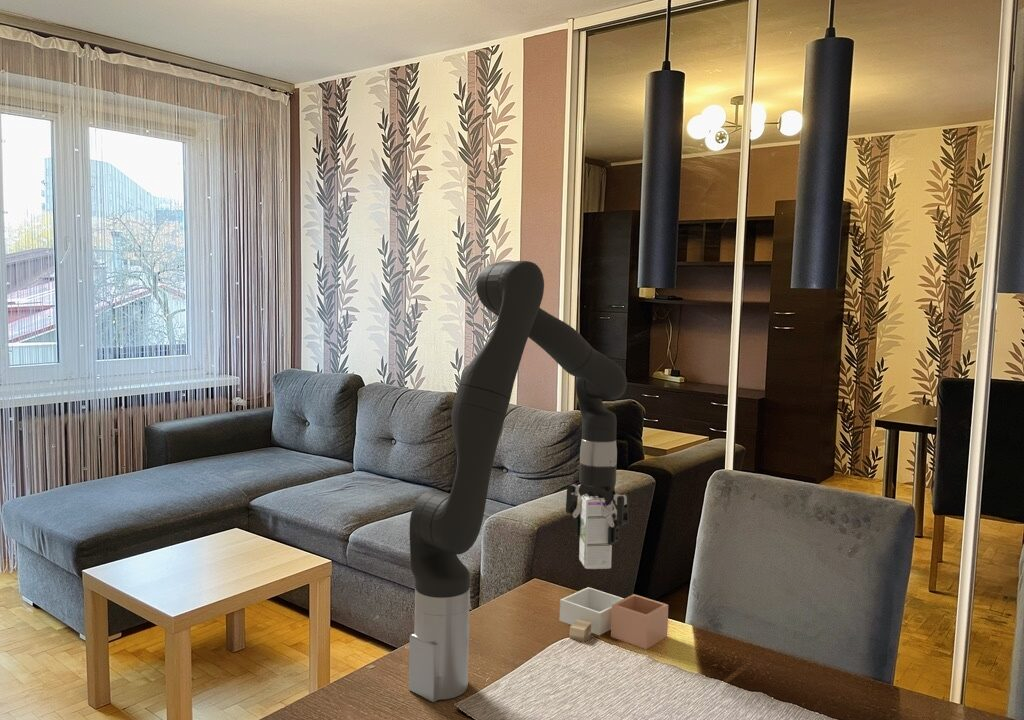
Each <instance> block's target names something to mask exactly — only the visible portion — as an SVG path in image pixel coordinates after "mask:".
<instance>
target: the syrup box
mask: <svg viewBox="0 0 1024 720" xmlns="http://www.w3.org/2000/svg"><path fill="white" fill-rule="evenodd" d="M583 496H584V495H583ZM583 496H582V497H583ZM582 497H581V496H580V501H581V500H582V510H581V513H580V536H579V545H578V547H579V549H578V560H579V562H580V563H581V565H582V567H583V568H584V569H587V570H598V569H599V570H603V569H604V570H607V569H612V556H613V555H612V554H613V549H612V548H613V545H609V544H608V527H609V526H610V525H609V523H608V521H607V519H606V518H605V517H604V516H603V514H602V512H601V507H602V506H601V503H600V500H601V501H602V502H603V503H604V504H605V500H604V499H605V498H594V497H595V496H590V497H583V498H582ZM599 499H600V500H599ZM613 504H614V502H613V500H612V501H611V503H610V504H609V505H608V506H606V505H605V506H606V508H607V510H608V511H613Z"/></svg>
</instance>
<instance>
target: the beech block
mask: <svg viewBox="0 0 1024 720" xmlns="http://www.w3.org/2000/svg"><path fill="white" fill-rule="evenodd" d="M591 635H592V632H591V623H590V622H585V621H581V620H576V621H575V622H574V623H573V624H572V625H570V626H569V639H571V640H574V639H576V640H575V641H578V640H580V641H579V642H583V641H584V642H585V641H586V640H587V639H588V638H589V637H590V636H591Z"/></svg>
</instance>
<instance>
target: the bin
mask: <svg viewBox="0 0 1024 720" xmlns="http://www.w3.org/2000/svg"><path fill="white" fill-rule="evenodd" d="M623 599H625V598H623V597H620V596H618V595H614V594H611V593H608V592H604V591H602V590H598V589H595V588H592V587H591V586H590V587H589V586H588V587H586V588H583V589H580V590H578V591H576V592H575V593H572V594H570V595H568V596H566V597H565V596H564V597H563V598H561V599H559V618H558V619H559V622H562V623H563V624H564V623H565V624H568V625H570V626H571V625H572V624H573V623H574V622H575V621H576V620H581V621H585V622H590V623H591V634H595V635H598V636H601V635H602V634H604V633H607V632H609V631H611V616H612V605H613V604H615V603H617V602H619V601H621V600H623Z"/></svg>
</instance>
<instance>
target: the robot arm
mask: <svg viewBox="0 0 1024 720" xmlns="http://www.w3.org/2000/svg"><path fill="white" fill-rule="evenodd" d="M475 289H476V294H477V297H478V299H479V301H480V302H481V304H482V305H483V306H484V307H485V308H486V309H487V310H488V311H489V312H491V313H492V314H494V315H496V316H497V320H496V321H495V326H494V328H493V330H492V332H491V334H490V335H489V337H488V339H487V341H486V342H485V344H484V345H483V346H482V348H481V349H480V350H479V351H478V352H477V354H476V355H475V356H474V357H473V359H472V360H471V362H469V364H468V366H466V368H465V370H464V372H463V373H462V376H461V377H460V381H459V383H458V387H457V390H456V394H455V397H454V401H453V403H452V404H453V405H452V408H451V427H452V428H451V429H452V434H453V439H454V446H455V452H456V467H455V468H456V470H455V475H454V479H453V483H452V487H451V491H450V493H448V492H446V491H441V490H428V491H426V492H424V493H423V494H421V495H420V496H419V497H418V498H417V500H416V501H415V503H414V505H413V507H412V510H411V513H410V517H409V554H410V555H409V557H410V571H411V573H412V576H413V578H414V625H413V626H414V627H413V628H414V630H413V633H412V634H411V633H410V635H409V653H408V655H409V656H408V657H409V658H408V666H409V667H408V670H409V671H408V690H409V691H411V692H413V693H414V694H417V695H419V696H420V697H422V698H424V699H426V700H428V701H429V702H432V703H435V702H437V701H441V700H450V699H454V698H457V697H459V696H461V695H463V694H464V693H466V691H467V689H468V685H469V683H468V682H469V647H470V646H469V645H470V644H469V641H470V639H469V638H470V601H471V600H470V599H471V598H470V597H471V596H470V595H471V594H470V593H471V592H470V591H471V575H470V571H469V569H468V568H467V567H466V566H465V564H464V563H463V562H462V561H461V560H460V558H459V557H458V555H462V554H465V553H467V552H468V551H470V549H471V548H473V546H474V544H475V543H476V541H477V539H478V536H479V534H480V531H481V529H482V525H483V522H484V521H483V520H484V515H485V508H486V504H487V499H488V498H487V497H488V492H489V486H490V480H491V475H492V469H493V465H494V461H495V458H496V453H497V448H498V444H499V440H500V436H501V434H502V429H503V426H504V423H505V420H506V417H507V414H508V413H507V412H508V409H509V406H510V402H511V401H510V400H511V397H512V393H513V388H514V385H515V380H516V378H517V374H518V372H519V371H518V370H519V366H520V364H521V361H522V357H523V353H524V350H525V347H526V344H527V341H528V339H530V340H531V341H532V342H534V343H535V344H536V345H537V346H539V347H540V348H541V349H542V350H544V351H545V352H546V353H547V354H548V356H550V357H551V358H552V359H553V360H554V361H555V362H556V363H557V364H558V366H560V367H561V368H562V369H563V370H564V371H565V372H566V373H568V374H569V375H571V376H572V377H575V380H574V381H575V382H574V384H575V392H576V397H577V401H578V406H579V411H580V415H581V419H582V422H581V443H580V448H579V473H578V477H579V478H578V481H579V484H580V485H578V483H574V484H573V483H572V484H569V485H567V486H566V499H565V500H566V502H565V512H566V514H570V515H571V516H572V517H573V532H574V535H575V536H577V537H580V513H581V510H582V500H581V499H580V501H579V502H578V499H579V498H578V497H579V496H580V498H581V497H582V496H583V495H584V496H583V497H590V496H595V497H594V498H605V499H604V500H605V504H604V503H603V502H602V501H601V500H600V499H599V500H600V503H601V506H602V507H601V512H602V514H603V516H604V517H605V518H606V519H607V521H608V523H609V525H610V526H609V527H608V544H609V545H612V546H614V545H616V544H617V543H618V542H619V538H620V527H621V526H624V525H628V523H629V522H630V521H629V517H630V515H629V513H630V512H629V509H630V503H629V502H630V500H629V499H630V497H629V495H628V494H626V493H624V494H617V492H616V490H615V487H616V484H617V466H618V465H617V461H618V447H617V424H618V423H617V421H618V420H617V415H616V413H615V412H613V411H611V410H609V409H607V408H606V407H605V406H604V404H603V400H608V401H609V400H610V401H612V400H617V399H619V398H620V397H622V396H624V394H625V392H626V390H627V386H628V382H627V381H628V380H627V376H626V373H625V372H624V371H623V369H622V367H621V366H620V365H619V364H617V363H616V361H613V359H611V358H609V357H608V356H606V355H605V354H603V353H601V352H600V351H598V350H596V349H595V348H593V346H592V345H591V344H590V343H589V342H588V341H587V340H586V339H585V338H584V337H583V336H582V334H580V332H578V331H577V330H576V329H575V328H573V326H571V325H570V324H568V323H567V322H565V321H563V320H561V319H560V318H558V317H556V316H554V315H552V314H550V313H549V312H547V311H546V310H544V309H543V308H541V304H542V301H543V298H544V297H543V296H544V291H545V279H544V275H543V272H542V270H541V268H540V267H539V266H538V264H536V263H535V262H532V261H530V260H516V261H515V260H513V261H501V262H495V263H491V264H488V265H486V266H485V267H484V268H482V270H481V271H480V272H479V274H478V275H477V279H476V285H475ZM583 497H582V498H583ZM612 500H613V511H608V510H607V508H606V506H608V505H609V504H610V503H611V501H612ZM614 502H615V504H614ZM605 505H606V506H605Z"/></svg>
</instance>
